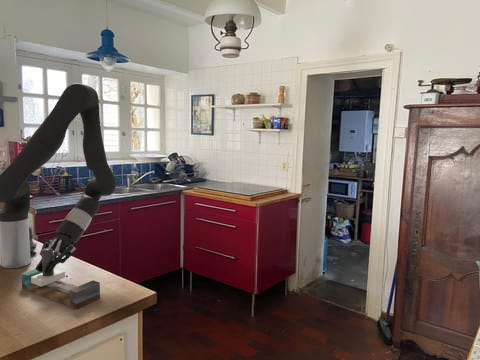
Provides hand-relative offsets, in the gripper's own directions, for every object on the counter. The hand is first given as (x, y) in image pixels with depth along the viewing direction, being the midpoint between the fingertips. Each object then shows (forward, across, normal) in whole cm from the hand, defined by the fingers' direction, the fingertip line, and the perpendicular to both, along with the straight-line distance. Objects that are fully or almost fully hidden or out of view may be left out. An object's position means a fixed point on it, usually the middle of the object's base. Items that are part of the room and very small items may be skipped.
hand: (42, 271), depth 112 cm
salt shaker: (-8, -36, +18) cm, 41 cm away
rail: (+3, +5, +6) cm, 9 cm away
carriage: (+1, 0, +4) cm, 4 cm away
